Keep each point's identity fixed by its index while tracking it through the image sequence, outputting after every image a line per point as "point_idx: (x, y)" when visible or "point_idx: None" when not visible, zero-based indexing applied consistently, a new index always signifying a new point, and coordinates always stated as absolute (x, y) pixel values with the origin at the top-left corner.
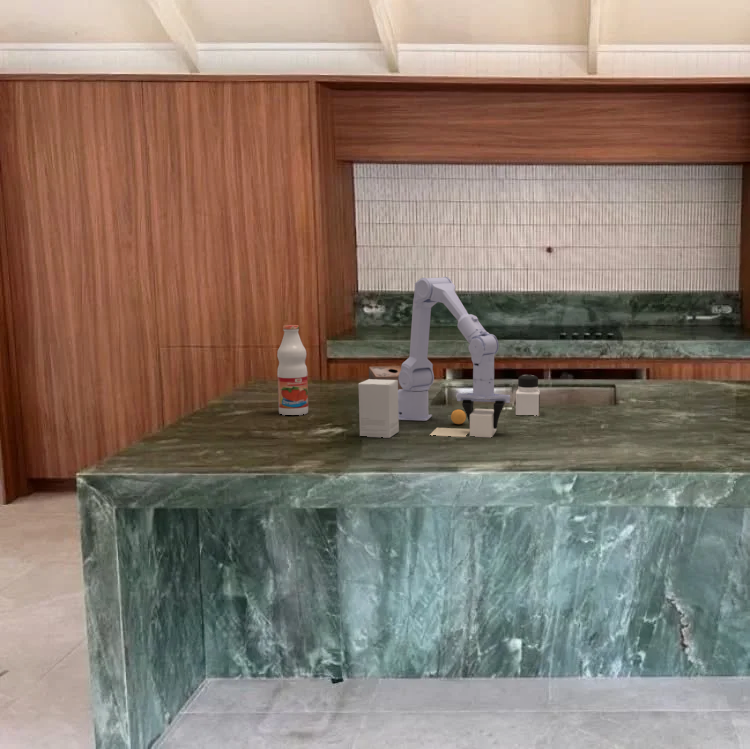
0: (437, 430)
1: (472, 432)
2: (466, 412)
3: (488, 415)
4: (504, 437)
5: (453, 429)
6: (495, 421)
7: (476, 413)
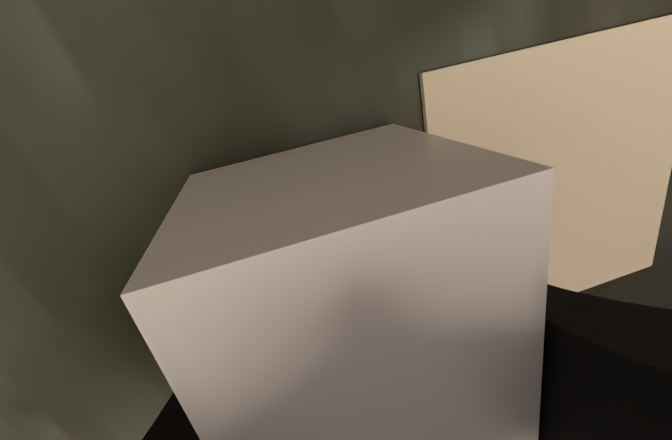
0: (647, 191)
1: (383, 135)
2: (614, 304)
3: (203, 287)
4: (79, 239)
5: (553, 270)
6: None
7: (470, 329)
